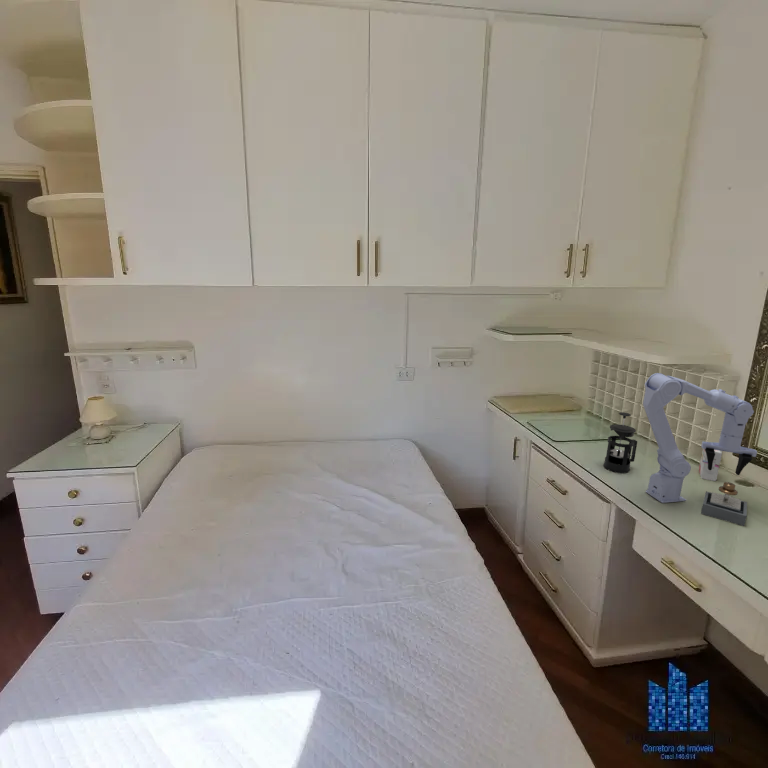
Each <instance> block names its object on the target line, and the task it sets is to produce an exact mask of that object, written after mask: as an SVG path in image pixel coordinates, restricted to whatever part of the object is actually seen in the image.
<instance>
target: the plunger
mask: <svg viewBox="0 0 768 768" xmlns="http://www.w3.org/2000/svg"><path fill="white" fill-rule="evenodd" d="M718 491H719V492H721V493H722V494H721V493H718V492H713V491H712V492H711V493H712V495H711V500H710V503H714V504H717V505H721V506H724V507H728V508H732V509H735V510H739V511H740V508H741V501H742V499H741V498H736V497H732V496H737V495H738V490H736V485H735V483H732V482H730V481H729V482H728V481H724V482H723V485H721V486H719V487H718Z"/></svg>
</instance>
